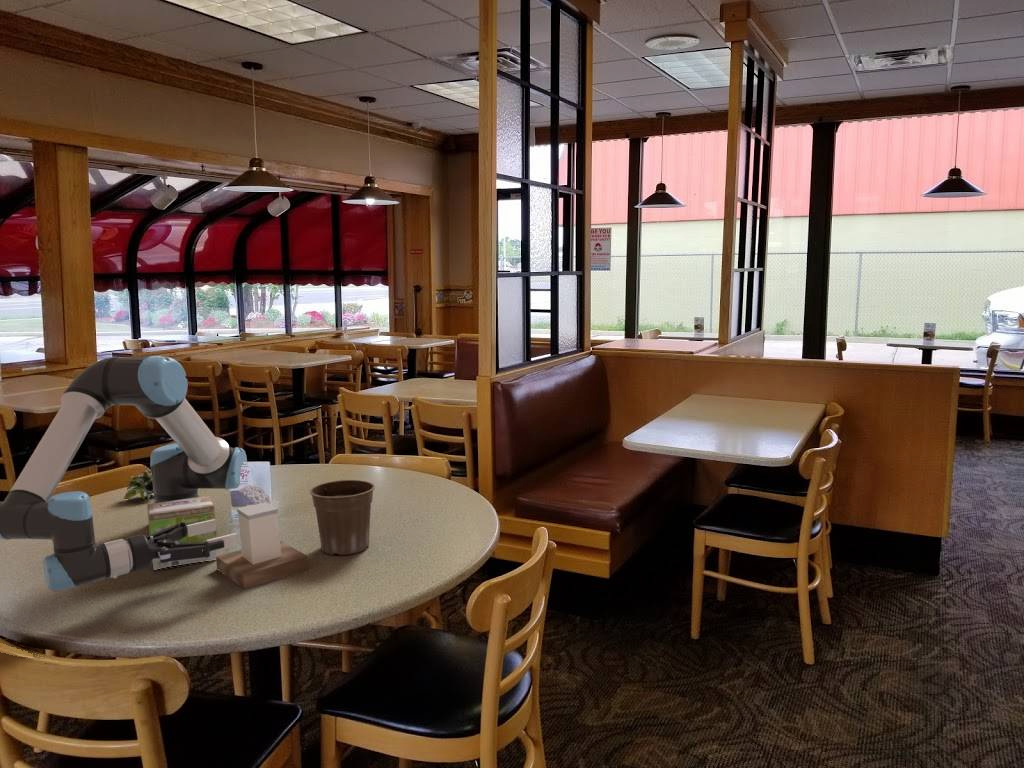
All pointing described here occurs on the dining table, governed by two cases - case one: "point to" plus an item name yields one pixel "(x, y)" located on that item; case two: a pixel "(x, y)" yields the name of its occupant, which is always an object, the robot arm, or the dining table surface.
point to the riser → (261, 566)
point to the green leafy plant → (140, 485)
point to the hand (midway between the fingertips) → (226, 531)
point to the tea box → (177, 513)
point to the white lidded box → (259, 532)
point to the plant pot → (343, 515)
